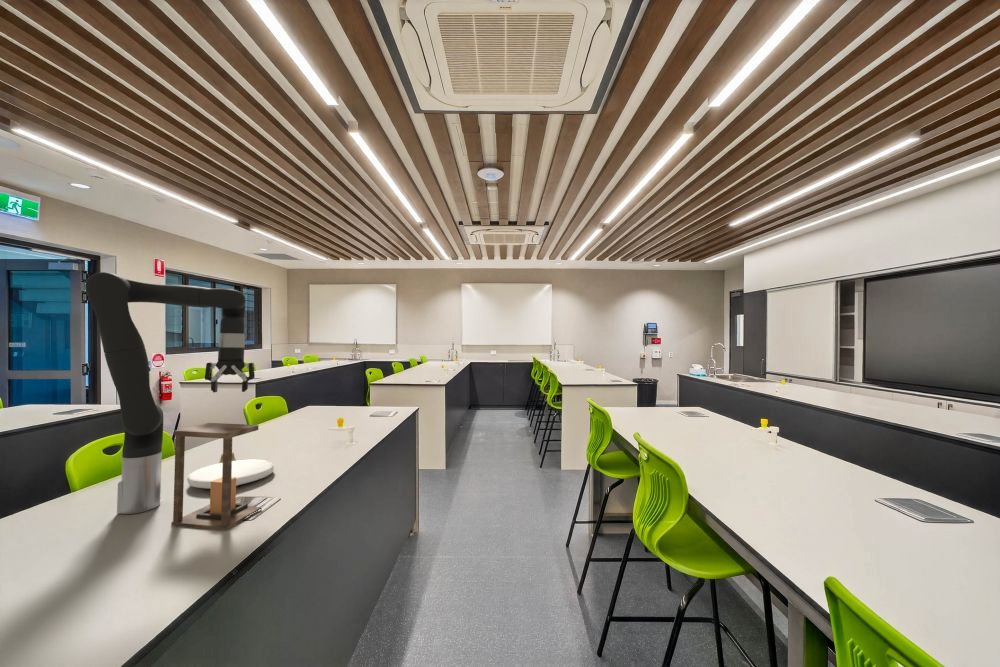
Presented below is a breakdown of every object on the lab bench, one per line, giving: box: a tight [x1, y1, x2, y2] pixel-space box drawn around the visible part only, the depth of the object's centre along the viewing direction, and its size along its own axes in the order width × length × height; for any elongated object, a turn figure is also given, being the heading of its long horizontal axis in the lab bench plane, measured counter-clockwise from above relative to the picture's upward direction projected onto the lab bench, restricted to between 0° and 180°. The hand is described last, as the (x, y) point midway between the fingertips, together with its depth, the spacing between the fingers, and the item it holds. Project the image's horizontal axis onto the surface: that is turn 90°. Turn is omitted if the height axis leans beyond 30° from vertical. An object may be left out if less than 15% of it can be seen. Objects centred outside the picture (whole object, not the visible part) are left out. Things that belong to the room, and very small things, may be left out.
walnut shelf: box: [171, 422, 262, 532], centre depth 115 cm, size 13×18×28 cm
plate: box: [186, 458, 275, 490], centre depth 145 cm, size 28×6×27 cm
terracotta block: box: [209, 477, 237, 515], centre depth 116 cm, size 4×4×10 cm
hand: (229, 391), depth 133 cm, fingers open, 8 cm apart
